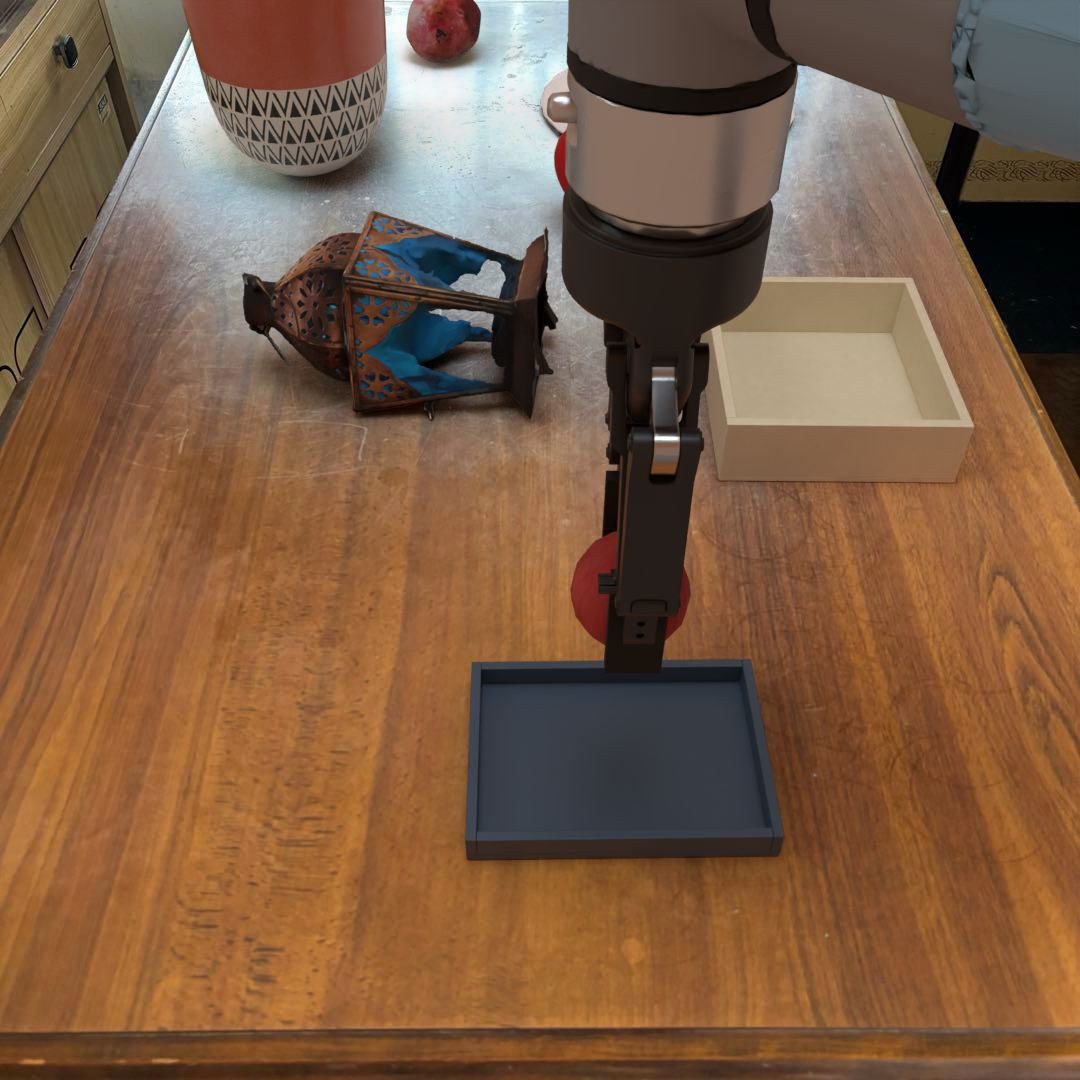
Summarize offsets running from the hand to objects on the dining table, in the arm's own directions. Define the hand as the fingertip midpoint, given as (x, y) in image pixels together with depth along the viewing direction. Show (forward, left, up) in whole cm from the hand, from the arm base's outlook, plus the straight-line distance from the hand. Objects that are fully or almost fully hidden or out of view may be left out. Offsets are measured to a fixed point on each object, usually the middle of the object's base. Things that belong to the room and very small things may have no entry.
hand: (629, 615), depth 55 cm
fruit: (+78, -70, -14) cm, 106 cm away
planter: (+70, -40, -13) cm, 82 cm away
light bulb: (+38, -48, -14) cm, 63 cm away
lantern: (+36, -20, -14) cm, 43 cm away
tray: (0, 0, -13) cm, 13 cm away
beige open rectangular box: (+8, -38, -13) cm, 41 cm away
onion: (0, 0, -2) cm, 2 cm away
